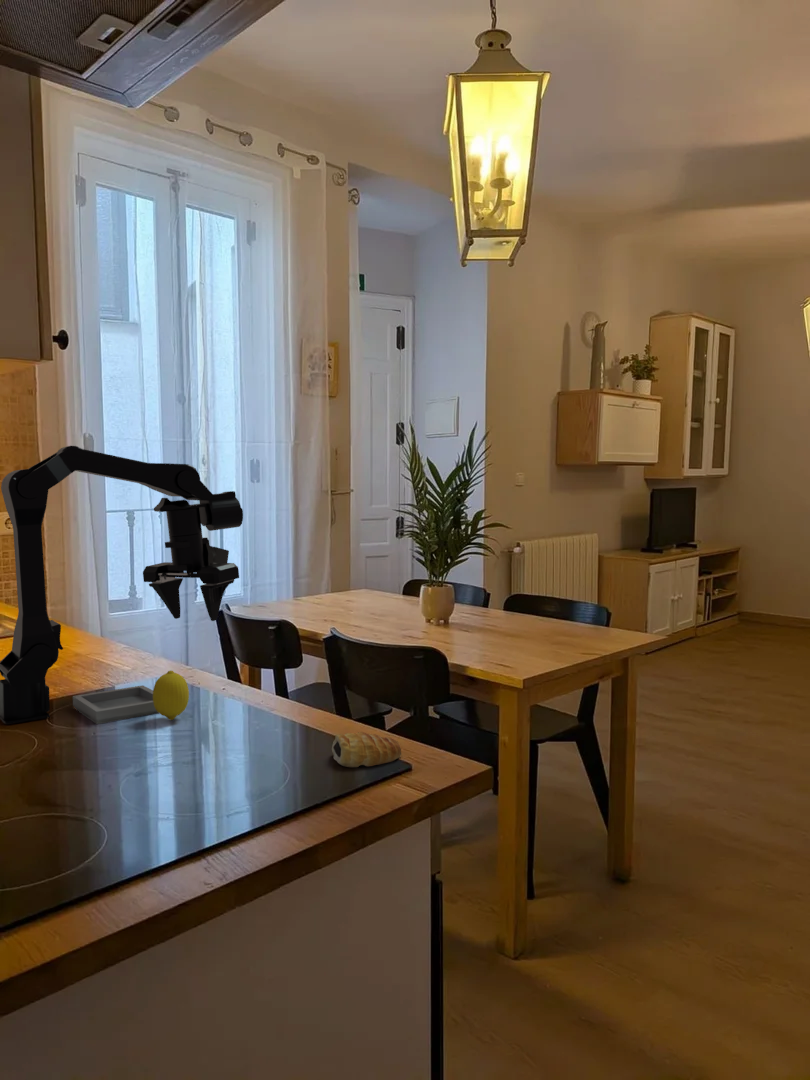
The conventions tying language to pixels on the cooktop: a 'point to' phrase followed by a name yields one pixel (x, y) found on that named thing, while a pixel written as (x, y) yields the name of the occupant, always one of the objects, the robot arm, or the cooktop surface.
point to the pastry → (364, 749)
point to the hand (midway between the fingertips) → (195, 619)
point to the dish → (116, 704)
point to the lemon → (170, 695)
